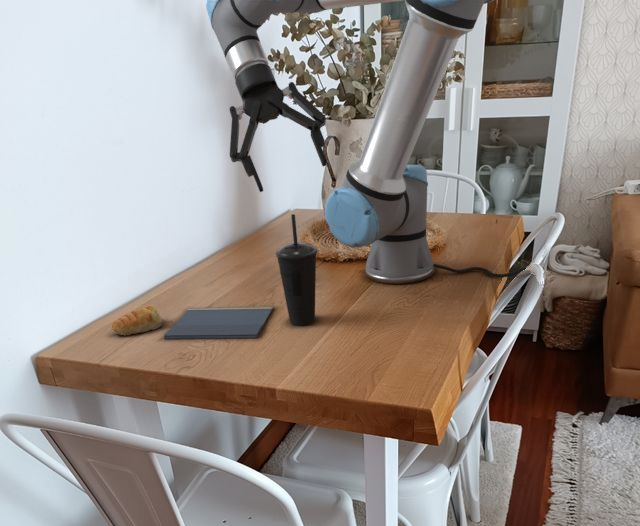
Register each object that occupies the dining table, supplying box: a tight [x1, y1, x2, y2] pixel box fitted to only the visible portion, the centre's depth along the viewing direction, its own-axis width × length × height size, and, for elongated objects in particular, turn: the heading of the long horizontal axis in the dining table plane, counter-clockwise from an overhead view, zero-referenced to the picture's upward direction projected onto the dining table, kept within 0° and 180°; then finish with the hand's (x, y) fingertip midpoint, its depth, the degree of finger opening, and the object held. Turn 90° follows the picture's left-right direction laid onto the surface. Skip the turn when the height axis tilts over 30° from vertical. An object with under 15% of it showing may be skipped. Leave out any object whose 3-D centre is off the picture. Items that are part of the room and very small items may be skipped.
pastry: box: [111, 304, 163, 336], centre depth 121 cm, size 9×7×4 cm
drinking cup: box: [274, 213, 318, 327], centre depth 114 cm, size 8×8×20 cm
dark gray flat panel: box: [163, 306, 274, 340], centre depth 121 cm, size 18×15×1 cm
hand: (293, 176), depth 123 cm, fingers open, 13 cm apart
